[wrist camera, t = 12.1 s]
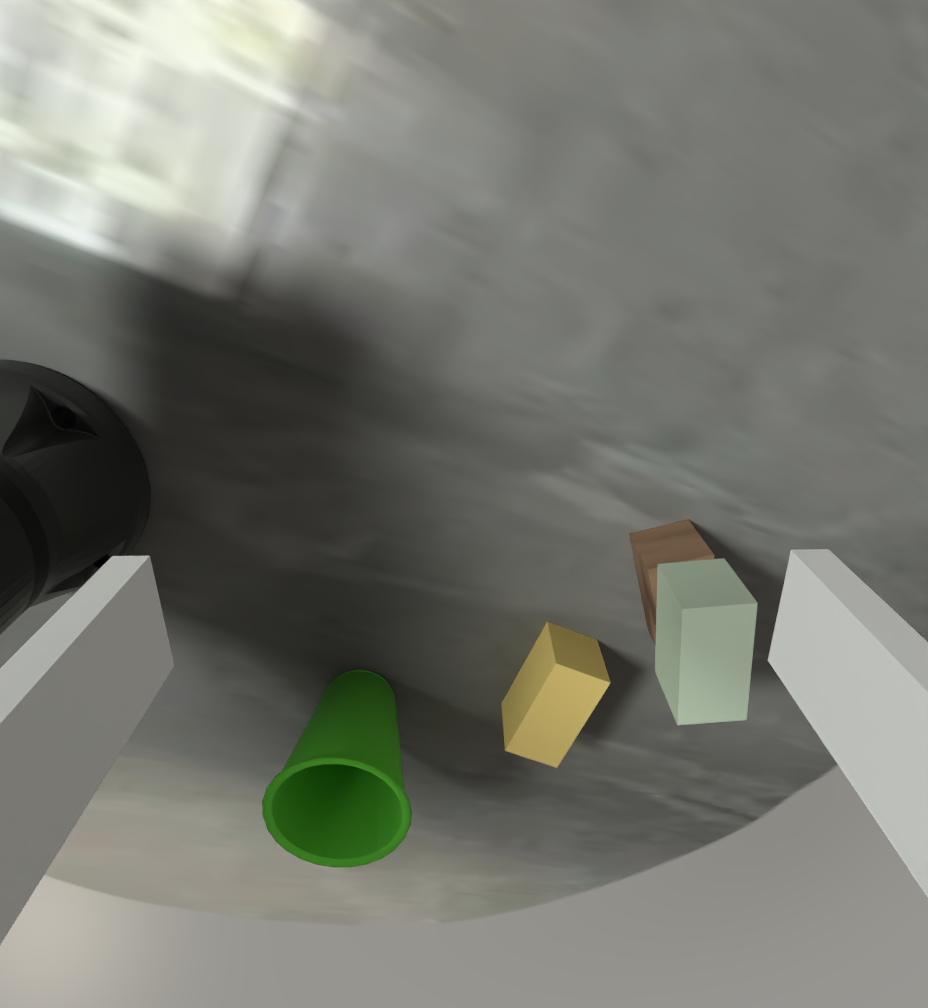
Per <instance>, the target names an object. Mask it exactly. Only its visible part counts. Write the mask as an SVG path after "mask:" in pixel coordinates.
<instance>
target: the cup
mask: <svg viewBox="0 0 928 1008" xmlns="http://www.w3.org/2000/svg"><path fill="white" fill-rule="evenodd" d="M262 805H263V818H264V820H265V823H266V826H267V829H268V831H269V832H270V834H271V835H272V837H273V838H274V839H275V841H276V842H277V843H278V844H279V845H281V846H282V847H283V848H284V849H285V850H286V851H287V852H289V853H291V854H293V855H295V856H296V857H298V858H300V859H302V860H305V861H308V862H311V863H314V864H317V865H322V866H329V867H355V866H360V865H365V864H369V863H371V862H374V861H376V860H379V859H382V858H383V857H385V856H386V855H388V854H389V853H391V852H392V851H394V850H395V848H396V847H397V846H398V845H399V844H400V843H401V842H402V841H403V839H404V838H405V836H406V834H407V832H408V829H409V827H410V825H411V815H412V811H411V807H410V802H409V799H408V797H407V795H406V793H405V792H404V782H403V771H402V761H401V751H400V740H399V730H398V719H397V709H396V699H395V695H394V692H393V690H392V688H391V686H390V685H389V683H388V682H387V681H386V680H385V679H384V678H383V677H381V676H380V675H378V674H376V673H373V672H371V671H366V670H352V671H348V672H345V673H343V674H341V675H340V676H338V677H337V678H336V679H334V680H333V681H332V682H331V683H330V685H329V686H328V687H327V689H326V691H325V693H324V695H323V697H322V698H321V700H320V702H319V704H318V706H317V708H316V710H315V711H314V713H313V715H312V717H311V719H310V721H309V722H308V724H307V726H306V728H305V730H304V732H303V733H302V735H301V737H300V739H299V741H298V743H297V745H296V746H295V748H294V750H293V752H292V754H291V756H290V757H289V759H288V761H287V763H286V765H285V767H284V768H283V770H282V772H281V773H279V774H278V775H277V776H275V778H274V779H273V780H272V782H271V783H270V784H269V786H268V787H267V789H266V792H265V795H264V798H263V801H262Z"/></svg>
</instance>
